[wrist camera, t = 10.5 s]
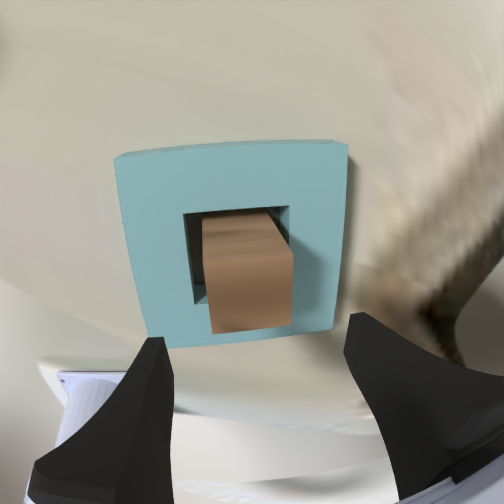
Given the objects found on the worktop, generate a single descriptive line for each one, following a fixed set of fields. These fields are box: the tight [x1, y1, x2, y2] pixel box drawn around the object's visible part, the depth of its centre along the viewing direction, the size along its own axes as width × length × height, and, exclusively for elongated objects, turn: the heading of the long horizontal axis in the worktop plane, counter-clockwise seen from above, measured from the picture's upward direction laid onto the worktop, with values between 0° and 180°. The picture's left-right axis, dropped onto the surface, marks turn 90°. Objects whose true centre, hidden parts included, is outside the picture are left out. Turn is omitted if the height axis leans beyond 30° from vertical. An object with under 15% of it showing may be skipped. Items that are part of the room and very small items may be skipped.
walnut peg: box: [202, 208, 293, 335], centre depth 18 cm, size 4×4×7 cm
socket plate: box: [114, 140, 348, 349], centre depth 20 cm, size 13×13×2 cm
